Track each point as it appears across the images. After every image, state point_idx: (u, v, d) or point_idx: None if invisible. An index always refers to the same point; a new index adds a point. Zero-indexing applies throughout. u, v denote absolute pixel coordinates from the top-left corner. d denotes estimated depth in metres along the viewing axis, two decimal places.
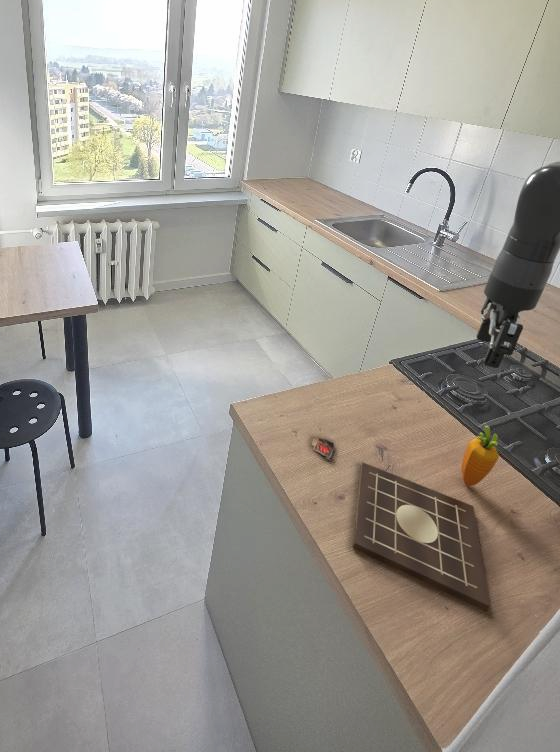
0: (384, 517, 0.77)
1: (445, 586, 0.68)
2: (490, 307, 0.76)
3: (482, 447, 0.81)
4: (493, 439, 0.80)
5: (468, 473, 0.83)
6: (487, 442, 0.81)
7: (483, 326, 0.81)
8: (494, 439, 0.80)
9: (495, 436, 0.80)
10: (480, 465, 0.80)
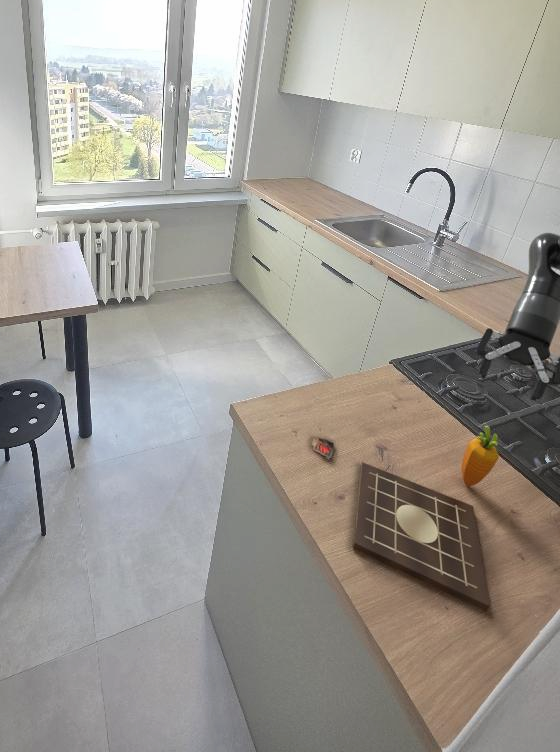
0: (384, 517, 0.77)
1: (445, 586, 0.68)
2: None
3: (482, 447, 0.81)
4: (493, 439, 0.80)
5: (468, 473, 0.83)
6: (487, 442, 0.81)
7: (535, 384, 0.84)
8: (494, 439, 0.80)
9: (495, 436, 0.80)
10: (480, 465, 0.80)
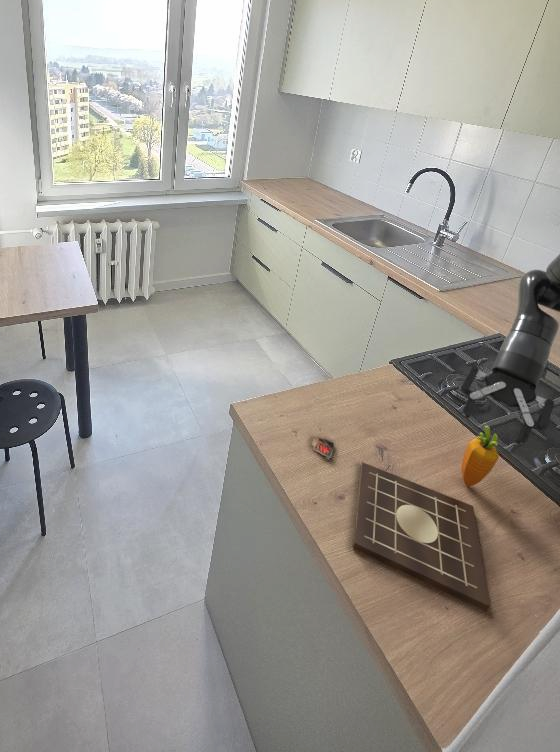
0: (384, 517, 0.77)
1: (445, 586, 0.68)
2: None
3: (482, 447, 0.81)
4: (493, 439, 0.80)
5: (468, 473, 0.83)
6: (487, 442, 0.81)
7: None
8: (494, 439, 0.80)
9: (495, 436, 0.80)
10: (480, 465, 0.80)
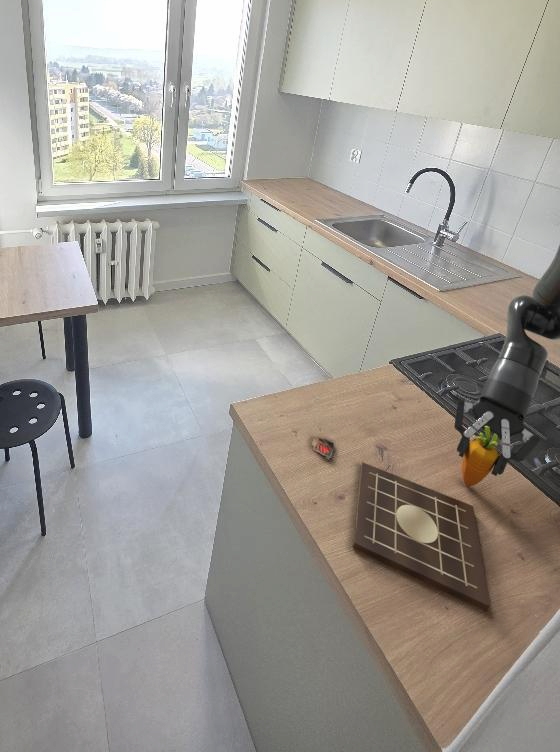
0: (384, 517, 0.77)
1: (445, 586, 0.68)
2: None
3: (482, 447, 0.81)
4: (493, 439, 0.80)
5: (468, 474, 0.83)
6: (487, 442, 0.81)
7: None
8: (494, 439, 0.80)
9: (495, 436, 0.80)
10: (480, 465, 0.80)
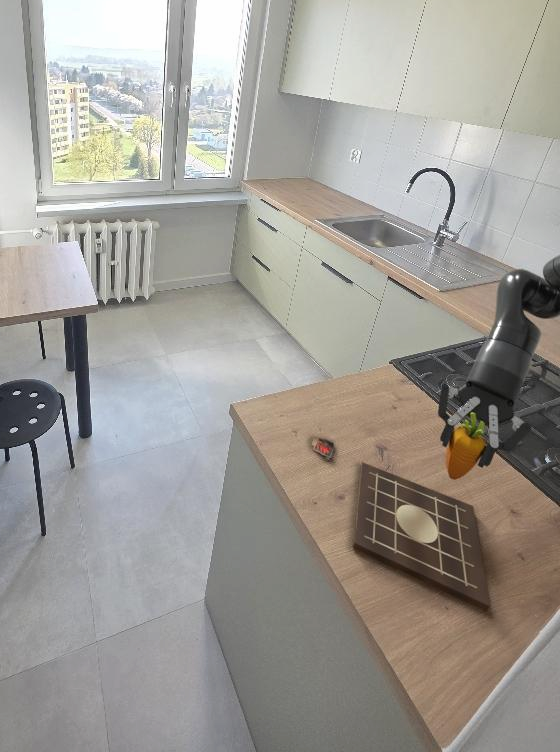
0: (384, 517, 0.77)
1: (445, 586, 0.68)
2: None
3: (467, 436, 0.73)
4: (479, 427, 0.72)
5: (453, 465, 0.75)
6: (473, 430, 0.73)
7: None
8: (480, 427, 0.72)
9: (482, 424, 0.72)
10: (465, 456, 0.72)
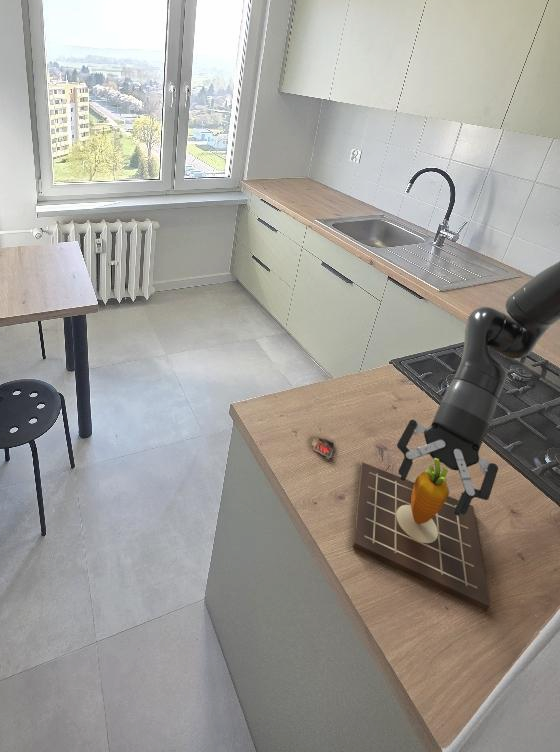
0: (384, 517, 0.77)
1: (445, 586, 0.68)
2: None
3: (431, 482, 0.72)
4: (443, 474, 0.71)
5: (417, 511, 0.74)
6: (436, 476, 0.72)
7: (461, 495, 0.71)
8: (444, 474, 0.71)
9: (445, 470, 0.71)
10: (429, 503, 0.71)
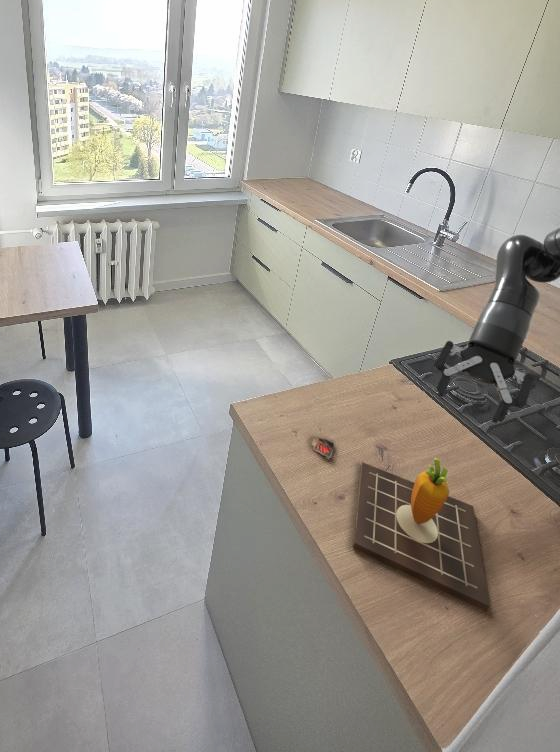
0: (384, 517, 0.77)
1: (445, 586, 0.68)
2: None
3: (431, 482, 0.72)
4: (443, 474, 0.71)
5: (417, 511, 0.74)
6: (436, 476, 0.72)
7: None
8: (444, 474, 0.71)
9: (445, 470, 0.71)
10: (429, 503, 0.71)
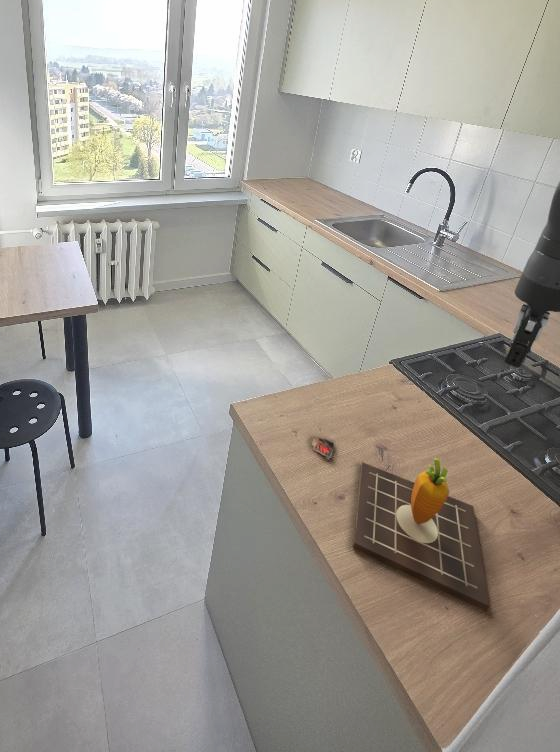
0: (384, 517, 0.77)
1: (445, 586, 0.68)
2: (522, 307, 0.75)
3: (431, 482, 0.72)
4: (443, 474, 0.71)
5: (417, 511, 0.74)
6: (436, 476, 0.72)
7: None
8: (444, 474, 0.71)
9: (445, 470, 0.71)
10: (429, 503, 0.71)
